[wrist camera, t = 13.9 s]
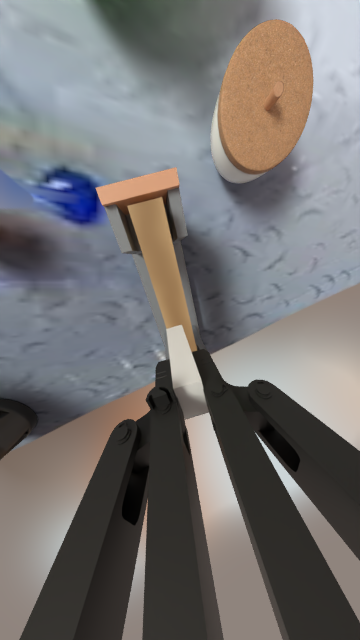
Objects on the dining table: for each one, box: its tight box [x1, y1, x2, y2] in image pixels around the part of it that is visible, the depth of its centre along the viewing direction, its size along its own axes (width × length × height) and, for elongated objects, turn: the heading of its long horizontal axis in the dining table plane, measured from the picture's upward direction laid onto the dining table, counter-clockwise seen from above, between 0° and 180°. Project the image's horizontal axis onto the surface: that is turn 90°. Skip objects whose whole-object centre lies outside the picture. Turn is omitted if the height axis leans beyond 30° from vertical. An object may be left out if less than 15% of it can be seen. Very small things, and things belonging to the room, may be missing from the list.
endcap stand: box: [96, 168, 207, 360], centre depth 24 cm, size 9×30×14 cm, turn 14°
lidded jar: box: [210, 19, 313, 183], centre depth 18 cm, size 11×11×9 cm
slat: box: [127, 197, 197, 352], centre depth 20 cm, size 3×24×6 cm, turn 14°
